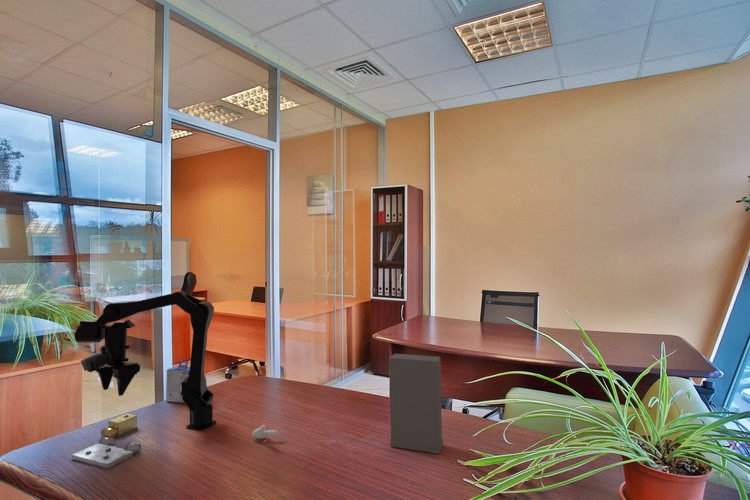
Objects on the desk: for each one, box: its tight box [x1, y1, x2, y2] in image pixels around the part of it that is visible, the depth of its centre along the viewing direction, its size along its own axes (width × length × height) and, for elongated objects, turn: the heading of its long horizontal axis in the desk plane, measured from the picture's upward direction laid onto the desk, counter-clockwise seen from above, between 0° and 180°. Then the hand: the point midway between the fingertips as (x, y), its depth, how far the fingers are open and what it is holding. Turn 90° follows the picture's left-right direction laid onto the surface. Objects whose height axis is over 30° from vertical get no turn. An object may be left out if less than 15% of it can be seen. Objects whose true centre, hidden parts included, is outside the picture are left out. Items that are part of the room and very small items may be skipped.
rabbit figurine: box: [250, 424, 280, 443], centre depth 112 cm, size 6×4×8 cm
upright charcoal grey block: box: [389, 353, 444, 455], centre depth 108 cm, size 14×6×25 cm, turn 71°
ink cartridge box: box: [165, 360, 190, 404], centre depth 146 cm, size 10×6×14 cm, turn 78°
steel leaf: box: [71, 436, 142, 470], centre depth 104 cm, size 14×9×2 cm
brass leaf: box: [100, 412, 138, 439], centre depth 119 cm, size 4×8×4 cm, turn 159°
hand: (113, 392), depth 118 cm, fingers open, 9 cm apart
